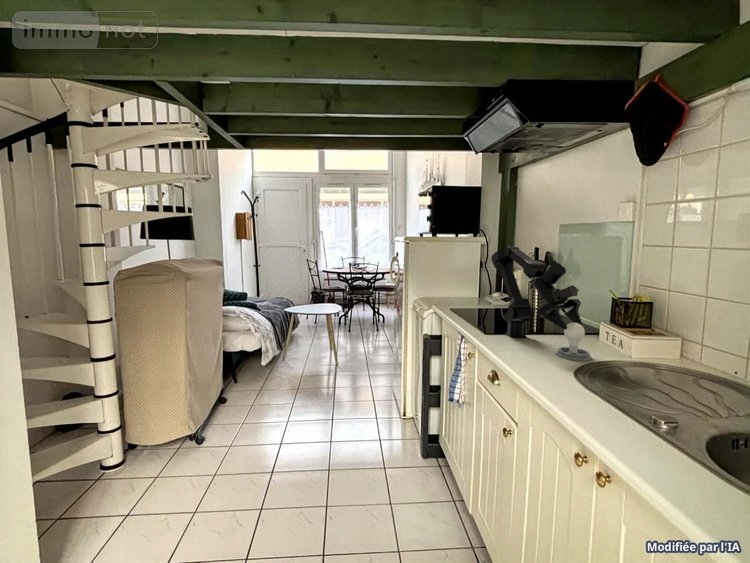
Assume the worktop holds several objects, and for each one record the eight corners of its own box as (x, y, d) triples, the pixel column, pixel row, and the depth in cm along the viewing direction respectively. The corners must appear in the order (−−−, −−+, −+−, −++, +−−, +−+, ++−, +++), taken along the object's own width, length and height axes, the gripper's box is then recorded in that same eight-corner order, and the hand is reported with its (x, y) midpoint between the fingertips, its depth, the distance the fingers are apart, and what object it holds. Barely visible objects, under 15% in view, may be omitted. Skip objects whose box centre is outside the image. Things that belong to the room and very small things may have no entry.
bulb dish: (566, 361, 132) (567, 355, 132) (549, 351, 143) (550, 346, 143) (598, 361, 133) (598, 355, 133) (578, 351, 144) (579, 346, 144)
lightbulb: (587, 356, 135) (588, 324, 134) (568, 356, 135) (569, 324, 135) (577, 351, 142) (579, 321, 141) (560, 351, 142) (561, 321, 141)
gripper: (547, 278, 135) (576, 317, 127) (578, 276, 145) (606, 312, 137) (526, 298, 142) (551, 335, 135) (556, 294, 153) (582, 329, 145)
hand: (573, 327), depth 138 cm, fingers open, 9 cm apart
